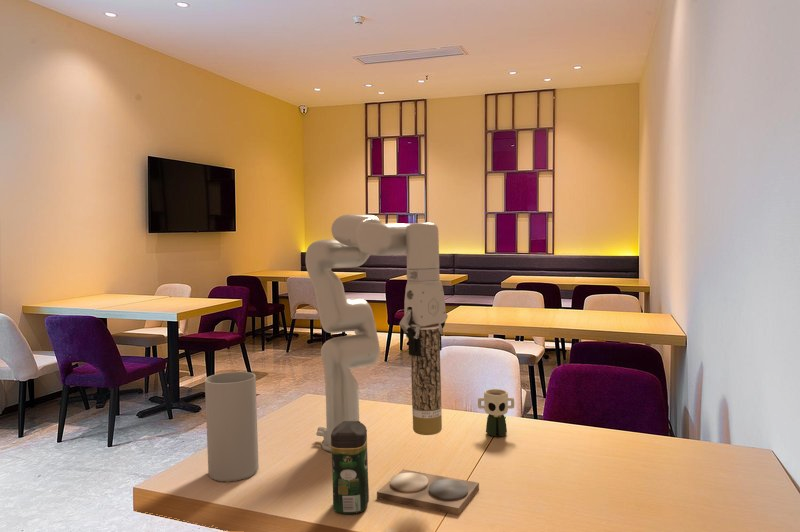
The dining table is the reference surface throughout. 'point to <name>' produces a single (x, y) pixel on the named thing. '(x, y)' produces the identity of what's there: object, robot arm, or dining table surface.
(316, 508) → the dining table surface
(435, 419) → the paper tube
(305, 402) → the dining table surface
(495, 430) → the character mug
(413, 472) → the board
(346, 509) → the coffee jar
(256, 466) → the cylinder vase
